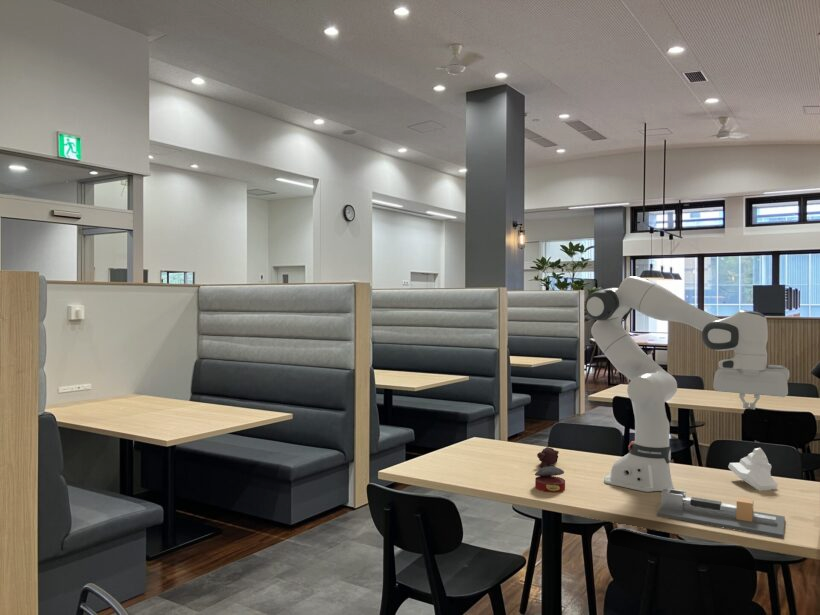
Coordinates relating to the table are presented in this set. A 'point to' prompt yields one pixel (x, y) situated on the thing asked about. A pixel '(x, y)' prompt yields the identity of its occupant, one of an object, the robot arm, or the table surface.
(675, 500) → the grey long bar
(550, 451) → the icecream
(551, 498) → the table surface
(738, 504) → the light orange block
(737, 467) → the white angular chunk
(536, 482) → the canned food
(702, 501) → the tongs arm
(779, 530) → the mat
